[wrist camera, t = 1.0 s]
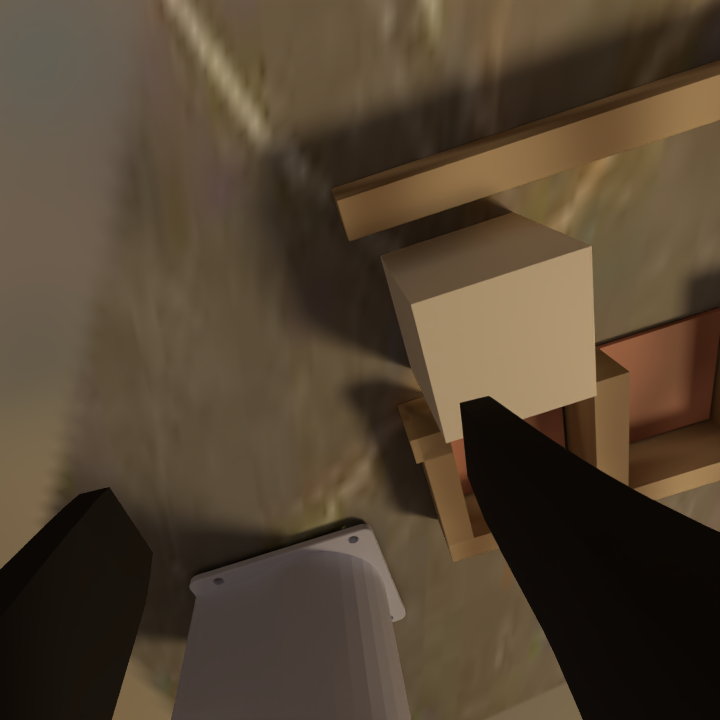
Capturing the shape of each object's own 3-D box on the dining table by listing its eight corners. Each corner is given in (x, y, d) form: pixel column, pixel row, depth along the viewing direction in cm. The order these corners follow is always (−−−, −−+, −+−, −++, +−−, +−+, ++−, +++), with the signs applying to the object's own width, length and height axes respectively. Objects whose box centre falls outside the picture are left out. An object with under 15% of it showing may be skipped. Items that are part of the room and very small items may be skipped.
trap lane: (432, 522, 23) (450, 573, 21) (330, 188, 15) (338, 203, 12) (836, 396, 23) (907, 433, 20) (959, -20, 15) (1105, -50, 12)
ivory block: (410, 367, 19) (446, 443, 15) (379, 255, 16) (411, 304, 12) (526, 330, 19) (596, 395, 14) (511, 211, 16) (591, 245, 12)
